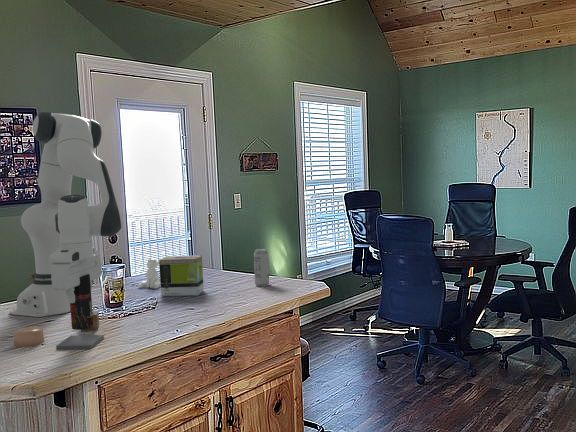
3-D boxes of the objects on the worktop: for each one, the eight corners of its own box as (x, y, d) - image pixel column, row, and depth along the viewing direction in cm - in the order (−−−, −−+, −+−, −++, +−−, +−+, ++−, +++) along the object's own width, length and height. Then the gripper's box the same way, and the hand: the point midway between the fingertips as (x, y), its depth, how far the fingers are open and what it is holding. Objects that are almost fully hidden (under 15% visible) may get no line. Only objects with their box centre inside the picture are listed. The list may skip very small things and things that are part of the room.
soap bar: (40, 332, 167) (41, 346, 167) (45, 325, 174) (45, 338, 175) (10, 335, 165) (11, 349, 165) (16, 327, 172) (17, 341, 173)
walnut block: (81, 331, 180) (80, 316, 180) (83, 327, 185) (82, 312, 185) (97, 330, 181) (96, 314, 181) (99, 326, 186) (98, 310, 186)
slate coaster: (56, 349, 163) (56, 345, 163) (71, 338, 173) (70, 335, 173) (91, 348, 162) (91, 345, 162) (104, 338, 172) (103, 334, 172)
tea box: (204, 290, 235) (202, 254, 234) (197, 296, 225) (196, 258, 224) (168, 291, 237) (166, 255, 235) (160, 296, 227) (158, 259, 225)
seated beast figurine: (136, 288, 244) (135, 260, 242) (146, 284, 252) (145, 257, 251) (157, 289, 241) (156, 260, 240) (166, 284, 250) (165, 257, 249)
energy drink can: (271, 285, 241) (270, 249, 239) (257, 287, 238) (256, 251, 237) (266, 283, 246) (265, 248, 245) (252, 284, 244) (251, 249, 243)
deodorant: (93, 328, 165) (89, 276, 164) (71, 330, 164) (66, 278, 162) (94, 323, 171) (90, 273, 170) (72, 325, 169) (68, 275, 168)
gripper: (86, 246, 176) (89, 291, 177) (45, 257, 156) (49, 308, 157) (105, 246, 175) (108, 291, 176) (66, 257, 155) (70, 308, 156)
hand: (80, 299), depth 167 cm, fingers closed on deodorant, 6 cm apart
